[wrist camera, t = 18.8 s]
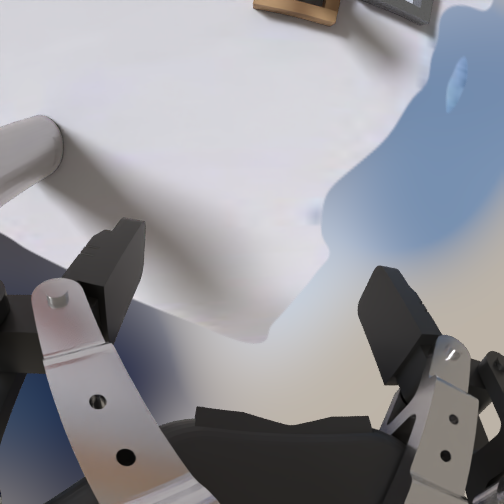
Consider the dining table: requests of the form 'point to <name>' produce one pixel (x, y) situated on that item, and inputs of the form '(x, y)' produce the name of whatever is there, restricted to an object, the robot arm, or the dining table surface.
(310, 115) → the dining table surface
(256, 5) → the walnut socket block
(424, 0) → the steel bore block
